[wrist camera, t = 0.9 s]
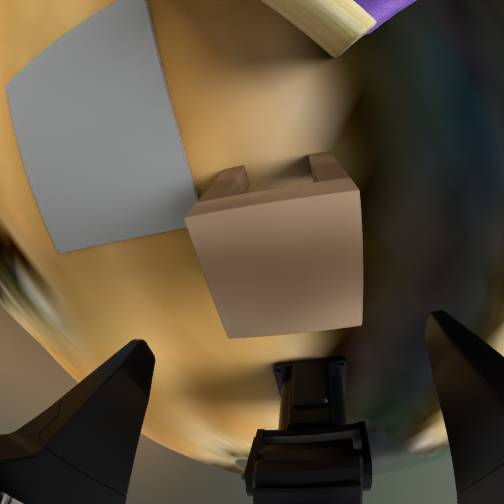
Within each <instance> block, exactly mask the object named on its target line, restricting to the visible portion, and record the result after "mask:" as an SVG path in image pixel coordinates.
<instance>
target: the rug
mask: <svg viewBox="0 0 504 504" xmlns="http://www.w3.org/2000/svg"><path fill="white" fill-rule="evenodd" d="M6 89H7V96H8V102H9V107H10V112H11V117H12V122H13V126H14V131H15V135H16V139H17V143H18V147H19V150H20V154H21V157H22V161H23V164H24V167H25V171H26V174H27V177H28V180H29V183H30V186H31V189H32V191H33V194H34V197H35V200H36V202H37V205H38V207H39V210H40V212H41V215H42V217H43V220H44V222H45V224H46V227H47V229H48V231H49V234H50V236H51V238H52V240H53V242H54V245H55V247H56V249H57V251H58V253H59V254H62V253H66V252H70V251H75V250H79V249H84V248H88V247H93V246H98V245H102V244H107V243H112V242H116V241H121V240H126V239H131V238H136V237H141V236H146V235H151V234H156V233H162V232H167V231H172V230H178V229H183V228H187V226H186V223H185V220H184V217H185V216H186V215H187V214H188V212H189V211H190V210H191V209H192V207H193V206H194V205H195V204H196V203H197V201H198V200H199V198H198V195H197V191H196V188H195V184H194V181H193V178H192V174H191V171H190V167H189V164H188V160H187V157H186V153H185V150H184V146H183V143H182V139H181V135H180V132H179V128H178V124H177V121H176V117H175V113H174V109H173V106H172V102H171V98H170V94H169V90H168V86H167V82H166V78H165V74H164V70H163V66H162V62H161V58H160V54H159V50H158V46H157V41H156V37H155V33H154V28H153V24H152V19H151V15H150V10H149V5H148V1H147V0H118V1H116V2H115V3H113V4H111V5H109V6H108V7H106V8H104V9H102V10H101V11H99V12H97V13H96V14H94V15H92V16H91V17H89V18H88V19H86V20H85V21H83V22H82V23H80V24H79V25H77V26H76V27H74V28H73V29H71V30H70V31H69V32H67V33H66V34H64V35H63V36H62V37H60V38H59V39H58V40H56V41H55V42H54V43H53V44H51V45H50V46H49V47H48V48H46V49H45V50H44V51H43V52H41V53H40V54H39V55H38V56H37V57H36V58H34V59H33V60H32V61H31V62H30V63H29V64H28V65H27V66H25V67H24V68H23V69H22V70H21V71H20V72H19V73H18V74H17V75H16V76H15V77H14V78H13V79H12V80H11V81H10V82H9V83H8V84H7V85H6Z"/></svg>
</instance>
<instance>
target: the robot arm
mask: <svg viewBox="0 0 504 504" xmlns="http://www.w3.org/2000/svg"><path fill="white" fill-rule="evenodd" d="M425 341H426V346H427V350H428V355H429V360H430V365H431V370H432V375H433V380H434V384H435V388H436V392H437V395H438V399H439V402H440V406H441V410H442V414H443V418H444V422H445V427H446V431H447V436H448V441H449V446H450V451H451V456H452V461H453V469H454V475H455V483H456V491H457V503H458V504H504V357H503V356H502V355H501V354H500V353H498V352H497V351H496V350H495V349H493V348H492V347H491V346H490V345H488V344H487V343H486V342H485V341H483V340H482V339H481V338H479V337H478V336H477V335H476V334H474V333H473V332H472V331H470V330H469V329H468V328H466V327H465V326H464V325H462V324H461V323H460V322H458V321H457V320H456V319H454V318H453V317H452V316H450V315H449V314H447V313H446V312H445V311H443V310H438V311H434V312H431V313H430V314H429V316H428V321H427V325H426V329H425ZM154 366H155V356H154V354H153V352H152V351H151V349H150V348H149V346H148V345H147V343H146V342H145V341H144V340H142V339H134V340H132V341H130V342H129V343H128V344H127V345H125V346H124V347H123V348H122V349H120V350H119V351H118V352H117V353H115V354H114V355H113V356H112V357H110V358H109V359H108V360H107V361H106V362H104V363H103V364H102V365H101V366H99V367H98V368H97V369H96V370H94V371H93V372H92V373H91V374H90V375H88V376H87V377H86V378H85V379H83V380H82V381H81V382H80V383H79V384H77V385H76V386H75V387H74V388H72V389H71V390H70V391H69V392H68V393H66V394H65V395H64V396H63V397H62V398H60V399H59V400H58V401H57V402H55V403H54V404H53V405H52V406H50V407H49V408H48V409H46V410H45V411H44V412H42V413H41V414H40V415H38V416H37V417H35V418H34V419H32V420H31V421H30V422H28V423H27V424H25V425H24V426H22V427H21V428H20V429H18V430H16V431H15V432H13V433H10V434H4V435H0V504H125V502H126V497H127V496H126V495H127V492H128V487H129V482H130V476H131V472H132V467H133V462H134V458H135V454H136V449H137V445H138V441H139V437H140V433H141V429H142V425H143V421H144V417H145V413H146V409H147V405H148V401H149V396H150V390H151V384H152V377H153V371H154ZM273 372H274V376H275V379H276V383H277V386H278V389H279V393H280V396H281V401H280V415H279V428H278V430H265V429H258V430H257V433H256V437H254V440H253V443H252V447H251V451H250V454H249V458H248V462H247V465H246V467H245V469H244V471H243V474H242V481H243V482H244V483H245V484H246V491H247V495H248V497H250V498H253V504H362V496H363V495H362V494H363V493H364V492H369V491H370V489H371V485H372V461H371V454H370V448H369V442H368V436H367V431H366V426H365V421H360V422H358V423H354V424H347V425H346V417H345V405H344V396H345V394H346V376H347V360H346V358H345V357H338V358H330V359H322V360H312V361H302V362H291V363H278V364H275V365H274V366H273Z"/></svg>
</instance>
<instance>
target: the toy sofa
mask: <svg viewBox="0 0 504 504" xmlns="http://www.w3.org/2000/svg"><path fill="white" fill-rule="evenodd" d="M260 1H262V2H263V3H265V4H266V5H268V6H269V7H271V8H272V9H273V10H275V11H276V12H278V13H279V14H280V15H282V16H283V17H284V18H286V19H287V20H288V21H290V22H291V23H292V24H294V25H295V26H296V27H297V28H299V29H300V30H301V31H303V32H304V33H305V34H306V35H308V36H309V37H310V38H311V39H312V40H314V41H315V42H316V43H317V44H318V45H320V46H321V47H322V48H323V49H324V50H325V51H326V52H327V53H328V54H329V55H331V56H333V57H338V56H339V55H341V54H342V53H343V52H344V51H345V50H346V49H348V48H349V47H350V46H351V45H352V44H353V43H355V42H356V41H357V40H358V39H359V38H360V37H362V36H363V35H366V34H369V33H371V32H372V31H374V30H375V29H377V28H378V27H379V26H380V25H381V24H382V23H384V22H385V21H387V20H388V19H390V18H391V17H392V16H394V15H395V14H396V13H398V12H399V11H401V10H403V9H404V8H405V7H407V6H408V5H410V4H411V3H413V2H415V1H416V0H260Z"/></svg>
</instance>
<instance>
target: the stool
mask: <svg viewBox="0 0 504 504" xmlns="http://www.w3.org/2000/svg"><path fill="white" fill-rule="evenodd" d="M308 157H309V163H310V169H311V175H312V178H313V181H314V183H307V184H300V185H293V186H287V187H281V188H274V189H268V190H262V191H256V192H251V193H246V192H247V189H248V187H249V182H248V178H247V174H246V169H245V165H244V166H239V167H234V168H229V169H225V170H223V172H222V173H221V174H220V175H219V176H218V177H217V179H216V180H215V181H214V182H213V183H212V184H211V186H210V187H209V188H208V189H207V190H206V192H205V193H204V194H203V195H202V196H201V198H200V199H199V200H198V201H197V203H196V204H195V205H194V206H193V207H192V209H191V210H190V211H189V212H188V214H187V215H186V216H185V217H184V220H185V223H186V226H187V229H188V231H189V234H190V237H191V240H192V243H193V246H194V249H195V252H196V254H197V257H198V260H199V263H200V266H201V268H202V271H203V274H204V277H205V279H206V282H207V285H208V288H209V290H210V293H211V296H212V298H213V301H214V303H215V306H216V309H217V311H218V314H219V316H220V319H221V321H222V324H223V327H224V329H225V332H226V334H227V337H228V338H246V337H261V336H274V335H285V334H296V333H305V332H314V331H323V330H331V329H339V328H346V327H353V326H360V325H362V311H363V242H362V220H361V204H360V191H359V189H358V188H357V186H356V185H355V184H354V182H353V181H352V180H351V178H350V177H349V176H348V174H347V173H346V172H345V171H344V169H343V168H342V167H341V166H340V164H339V163H338V162H337V161H336V159H335V158H334V157H333V156H332V154H331V153H330V152H324V153H316V154H309V155H308Z"/></svg>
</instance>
